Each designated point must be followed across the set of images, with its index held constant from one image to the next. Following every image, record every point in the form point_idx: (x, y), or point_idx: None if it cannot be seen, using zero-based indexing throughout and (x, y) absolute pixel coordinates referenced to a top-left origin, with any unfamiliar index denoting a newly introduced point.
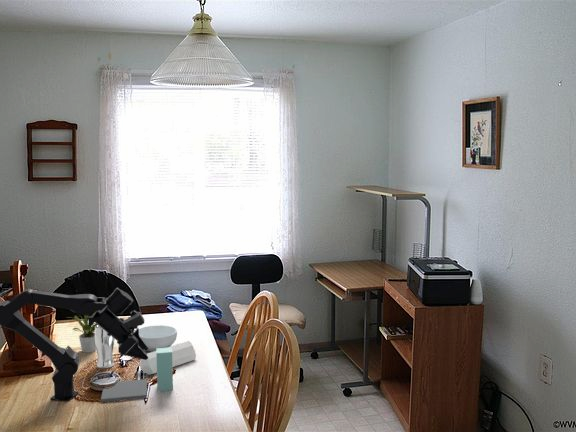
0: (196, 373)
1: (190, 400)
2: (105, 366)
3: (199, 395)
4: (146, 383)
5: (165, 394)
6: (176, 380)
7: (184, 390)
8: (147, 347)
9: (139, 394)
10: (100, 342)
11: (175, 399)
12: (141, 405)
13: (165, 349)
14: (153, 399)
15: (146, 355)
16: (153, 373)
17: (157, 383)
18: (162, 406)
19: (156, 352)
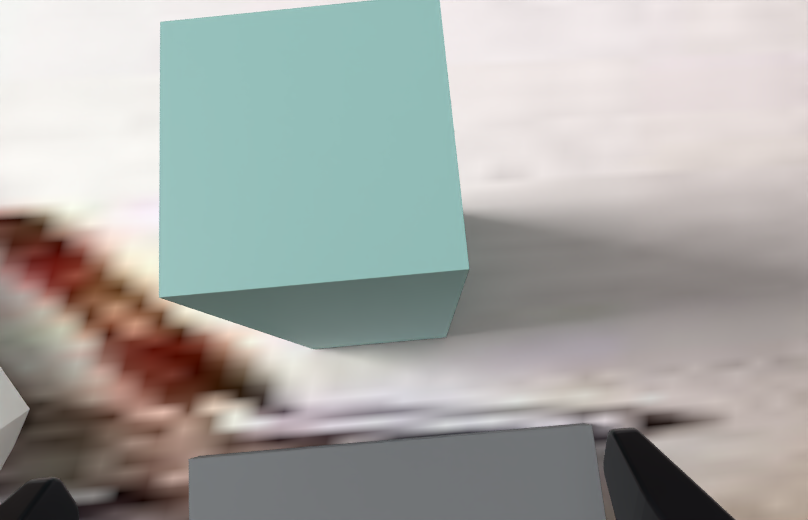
0: (102, 44)
1: (660, 68)
2: None
3: (567, 9)
4: (306, 451)
5: (519, 265)
6: None
7: (453, 120)
8: (38, 498)
9: (572, 495)
10: None
11: (632, 179)
12: (744, 454)
13: (262, 117)
14: (618, 359)
15: (675, 469)
16: (26, 406)
17: (446, 329)
18: (770, 272)
19: (202, 307)
